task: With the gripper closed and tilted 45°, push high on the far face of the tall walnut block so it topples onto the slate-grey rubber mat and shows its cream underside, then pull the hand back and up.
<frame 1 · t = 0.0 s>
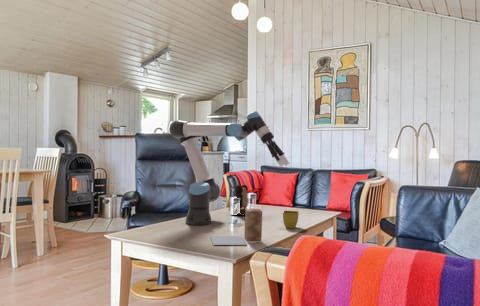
hand: (285, 165, 222), 36 cm above the table, tool tilted 35°, fingers open, 13 cm apart
walnut block: (252, 240, 186), on the table
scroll: (240, 215, 258), on the table
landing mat: (227, 241, 184), on the table
flower pot: (290, 227, 221), on the table
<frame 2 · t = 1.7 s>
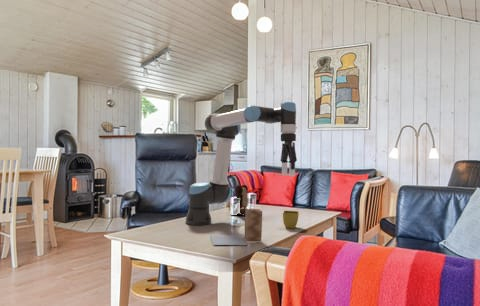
hand: (288, 175, 191), 32 cm above the table, tool pointing down, fingers open, 13 cm apart
nothing on the table moved.
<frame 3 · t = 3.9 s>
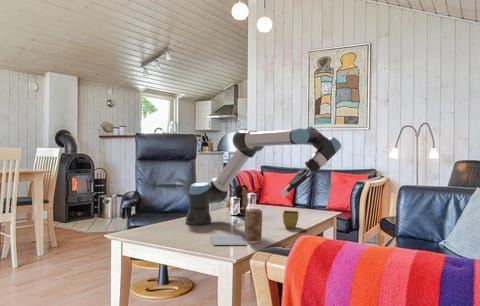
hand: (282, 195, 188), 22 cm above the table, tool tilted 45°, fingers closed
nothing on the table moved.
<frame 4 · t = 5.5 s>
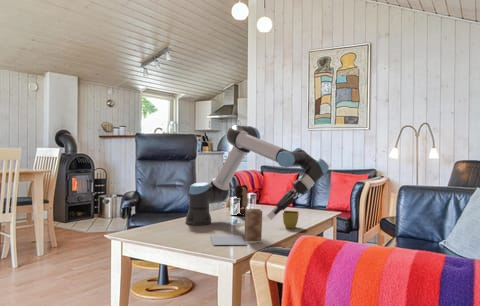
hand: (269, 217, 187), 11 cm above the table, tool tilted 45°, fingers closed
nothing on the table moved.
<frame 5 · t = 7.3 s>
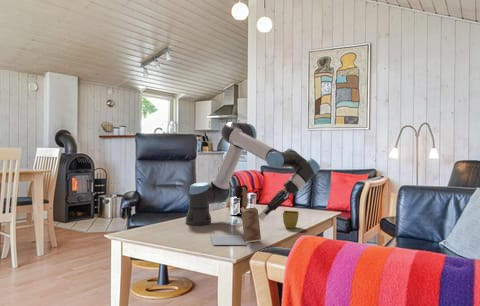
hand: (259, 218, 186), 11 cm above the table, tool tilted 45°, fingers closed
walnut block: (252, 239, 186), on the table, tilted 8°
everything else where it was.
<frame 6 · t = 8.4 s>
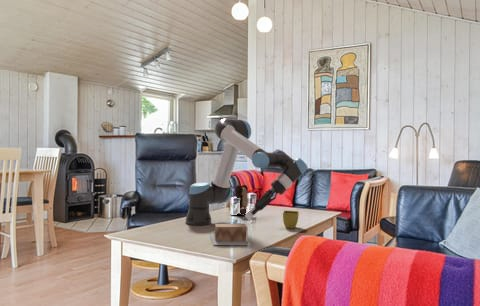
hand: (246, 218, 185), 11 cm above the table, tool tilted 45°, fingers closed
walnut block: (246, 232, 185), point 4 cm above the table, tilted 90°, touching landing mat
everything else where it was.
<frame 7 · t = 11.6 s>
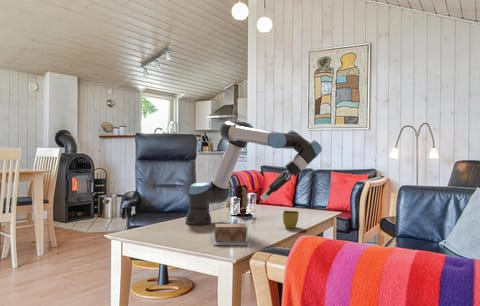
hand: (261, 199, 186), 20 cm above the table, tool tilted 45°, fingers closed
nothing on the table moved.
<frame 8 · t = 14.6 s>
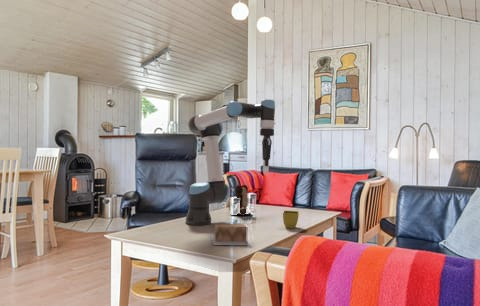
hand: (265, 172, 207), 32 cm above the table, tool pointing down, fingers closed
nothing on the table moved.
at the end: walnut block tilted 90°; walnut block inside the target area (0.7 cm from its centre), point 4.1 cm above the table; walnut block touching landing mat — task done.
